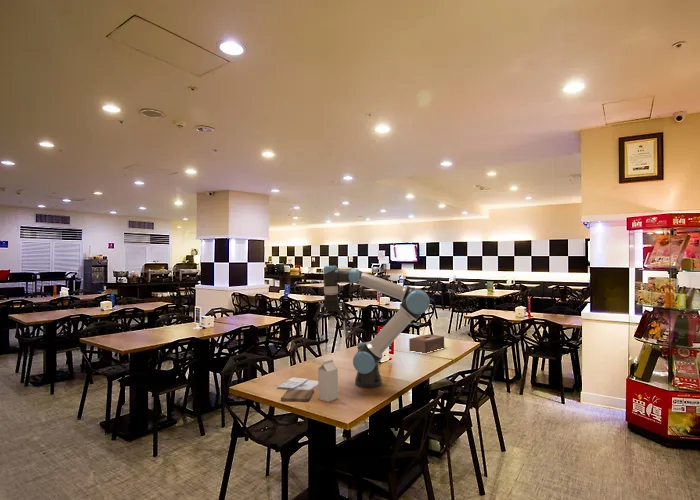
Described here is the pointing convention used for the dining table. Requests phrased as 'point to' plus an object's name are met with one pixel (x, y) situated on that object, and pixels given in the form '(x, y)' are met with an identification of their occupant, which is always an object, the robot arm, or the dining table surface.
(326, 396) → the milk carton
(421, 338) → the tissue box cover
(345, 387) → the dining table surface
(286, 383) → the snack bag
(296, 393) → the walnut board
